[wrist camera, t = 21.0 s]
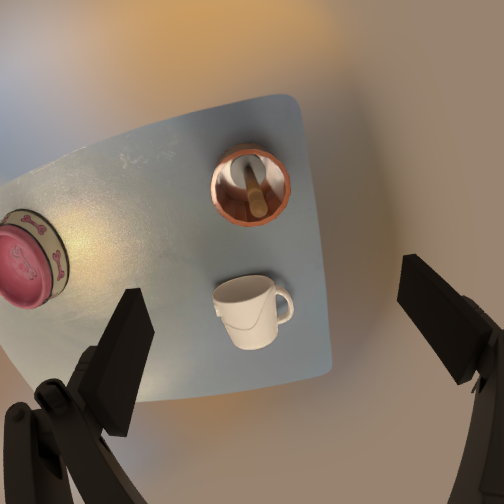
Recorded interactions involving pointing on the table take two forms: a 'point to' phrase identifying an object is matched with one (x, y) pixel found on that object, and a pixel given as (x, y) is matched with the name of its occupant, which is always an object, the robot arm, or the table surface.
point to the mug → (251, 310)
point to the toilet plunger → (250, 181)
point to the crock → (235, 198)
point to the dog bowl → (31, 260)
